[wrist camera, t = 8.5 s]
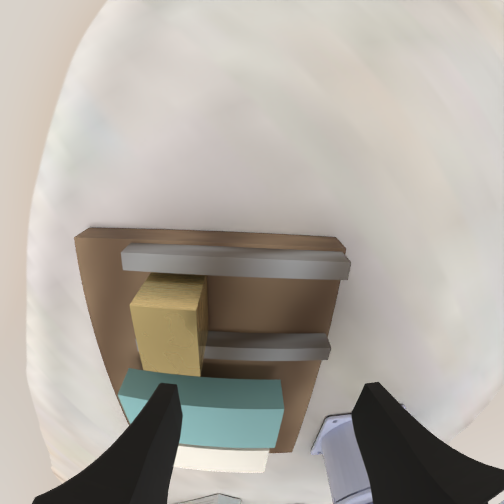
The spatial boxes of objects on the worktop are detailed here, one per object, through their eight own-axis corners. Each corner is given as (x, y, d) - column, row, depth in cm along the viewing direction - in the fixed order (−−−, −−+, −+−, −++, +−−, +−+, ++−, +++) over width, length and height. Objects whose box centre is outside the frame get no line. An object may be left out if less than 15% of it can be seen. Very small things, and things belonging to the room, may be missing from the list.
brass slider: (207, 270, 15) (195, 310, 12) (208, 330, 17) (200, 376, 13) (154, 267, 15) (129, 304, 11) (161, 326, 17) (143, 370, 13)
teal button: (280, 379, 17) (284, 408, 14) (272, 421, 19) (274, 447, 16) (128, 368, 16) (117, 394, 14) (143, 411, 18) (135, 435, 16)
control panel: (335, 237, 17) (355, 258, 14) (289, 437, 25) (293, 463, 22) (89, 227, 17) (61, 245, 13) (140, 427, 24) (133, 452, 21)
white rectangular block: (267, 427, 21) (269, 450, 19) (262, 452, 23) (264, 472, 20) (153, 419, 21) (147, 440, 18) (162, 445, 22) (159, 464, 20)
